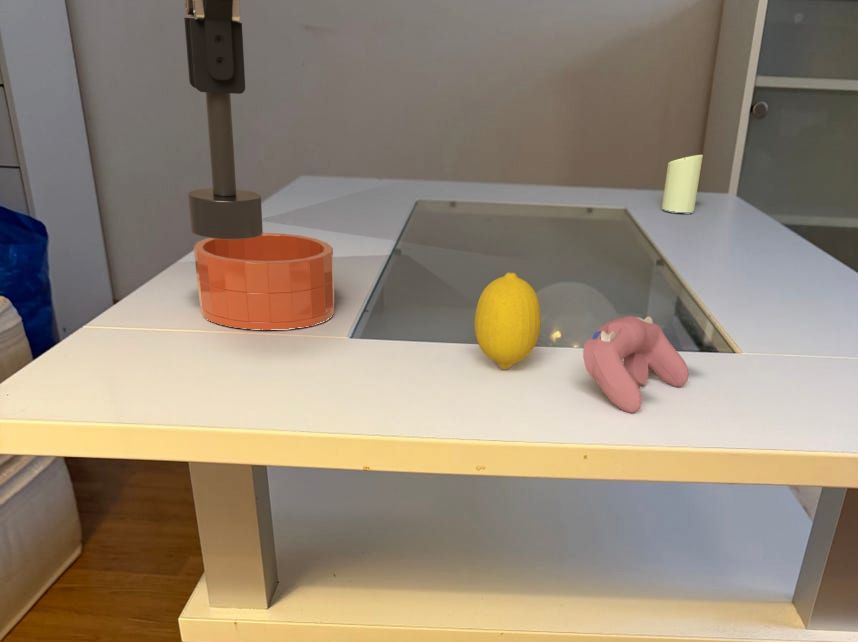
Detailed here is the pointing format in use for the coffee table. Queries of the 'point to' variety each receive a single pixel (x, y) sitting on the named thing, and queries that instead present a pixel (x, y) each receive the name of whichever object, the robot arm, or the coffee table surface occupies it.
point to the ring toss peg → (223, 184)
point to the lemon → (507, 320)
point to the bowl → (265, 281)
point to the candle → (682, 184)
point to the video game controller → (631, 359)
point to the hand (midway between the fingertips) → (217, 88)
